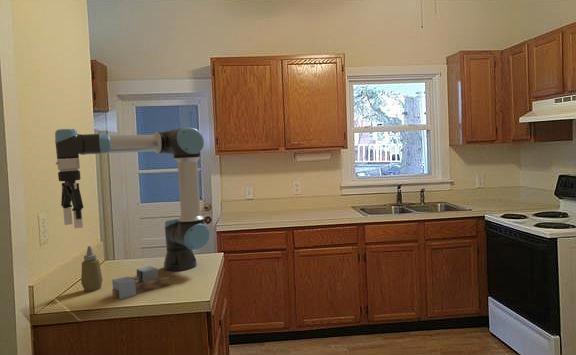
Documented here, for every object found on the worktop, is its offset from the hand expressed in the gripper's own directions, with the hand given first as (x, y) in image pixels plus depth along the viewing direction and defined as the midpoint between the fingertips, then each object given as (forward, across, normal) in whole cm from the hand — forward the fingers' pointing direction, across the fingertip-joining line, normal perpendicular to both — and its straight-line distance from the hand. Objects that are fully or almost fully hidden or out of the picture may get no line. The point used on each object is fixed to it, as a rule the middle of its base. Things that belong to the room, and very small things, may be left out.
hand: (73, 226), depth 174 cm
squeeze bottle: (+28, -7, +7) cm, 30 cm away
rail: (+28, +12, +20) cm, 36 cm away
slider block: (+28, +12, +13) cm, 33 cm away
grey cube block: (+28, +1, +27) cm, 39 cm away
